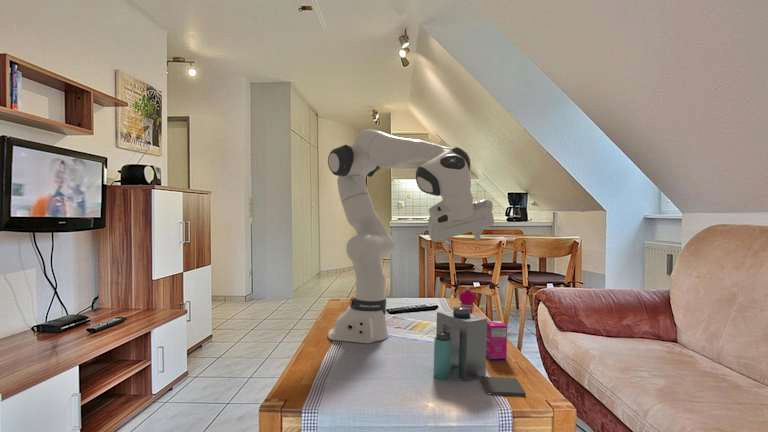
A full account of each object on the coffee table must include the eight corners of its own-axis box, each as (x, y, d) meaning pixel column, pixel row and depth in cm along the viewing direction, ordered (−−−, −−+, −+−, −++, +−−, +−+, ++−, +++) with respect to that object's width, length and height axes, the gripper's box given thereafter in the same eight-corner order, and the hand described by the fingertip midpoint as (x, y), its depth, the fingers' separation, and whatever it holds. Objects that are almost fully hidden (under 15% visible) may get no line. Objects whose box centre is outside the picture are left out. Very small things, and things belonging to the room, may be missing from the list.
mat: (487, 394, 116) (487, 391, 116) (480, 379, 126) (480, 376, 126) (525, 395, 116) (525, 392, 116) (516, 380, 126) (516, 378, 126)
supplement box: (483, 354, 147) (484, 320, 147) (500, 354, 148) (501, 320, 148) (489, 360, 142) (490, 325, 141) (507, 360, 142) (508, 325, 142)
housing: (465, 381, 124) (467, 315, 123) (435, 367, 135) (437, 305, 134) (485, 376, 129) (487, 311, 128) (454, 362, 139) (456, 302, 139)
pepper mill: (474, 337, 166) (476, 284, 166) (477, 343, 159) (478, 288, 158) (455, 336, 167) (457, 284, 166) (456, 342, 160) (458, 287, 159)
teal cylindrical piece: (433, 379, 125) (435, 335, 125) (432, 372, 130) (434, 330, 130) (451, 380, 125) (452, 336, 125) (449, 373, 130) (451, 331, 130)
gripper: (487, 192, 134) (491, 229, 142) (423, 210, 133) (430, 245, 141) (495, 203, 129) (498, 240, 136) (428, 221, 128) (435, 257, 136)
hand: (463, 243), depth 139 cm, fingers open, 8 cm apart
